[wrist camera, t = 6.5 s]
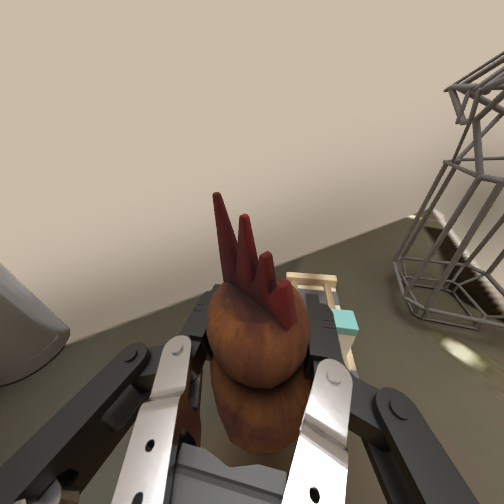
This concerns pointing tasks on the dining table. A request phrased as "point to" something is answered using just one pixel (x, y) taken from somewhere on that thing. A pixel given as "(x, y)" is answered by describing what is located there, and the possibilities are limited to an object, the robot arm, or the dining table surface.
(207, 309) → the robot arm
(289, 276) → the light wooden tray
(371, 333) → the dining table surface
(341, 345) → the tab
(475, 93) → the geometric lantern
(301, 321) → the wooden figurine
